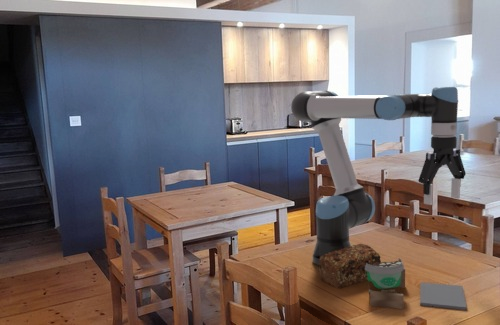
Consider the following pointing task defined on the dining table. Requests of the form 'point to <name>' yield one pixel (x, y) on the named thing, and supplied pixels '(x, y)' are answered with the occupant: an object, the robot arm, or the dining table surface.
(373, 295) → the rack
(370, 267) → the food container
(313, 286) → the dining table surface
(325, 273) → the bread
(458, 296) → the mat
